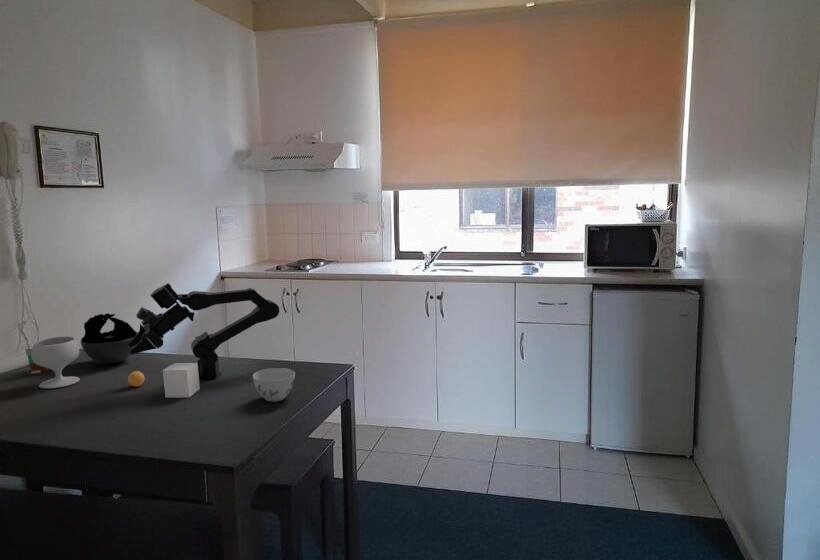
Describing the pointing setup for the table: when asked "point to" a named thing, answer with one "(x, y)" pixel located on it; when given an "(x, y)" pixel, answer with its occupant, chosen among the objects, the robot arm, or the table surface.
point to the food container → (34, 367)
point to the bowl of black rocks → (107, 339)
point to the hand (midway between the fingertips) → (129, 349)
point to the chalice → (56, 359)
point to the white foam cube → (181, 379)
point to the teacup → (274, 383)
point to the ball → (136, 378)
